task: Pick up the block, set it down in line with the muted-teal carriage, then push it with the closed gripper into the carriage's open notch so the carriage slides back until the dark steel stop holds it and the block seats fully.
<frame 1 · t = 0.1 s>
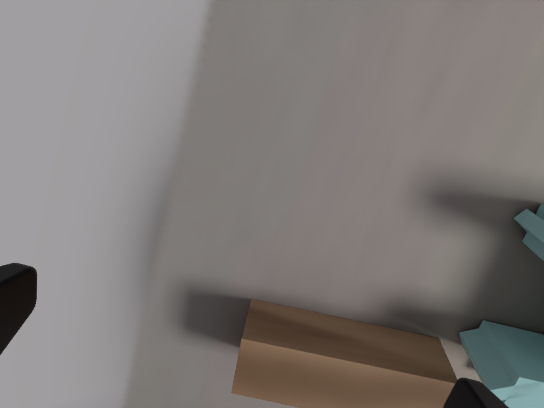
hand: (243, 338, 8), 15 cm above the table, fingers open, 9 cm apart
block: (336, 340, 26), on the table
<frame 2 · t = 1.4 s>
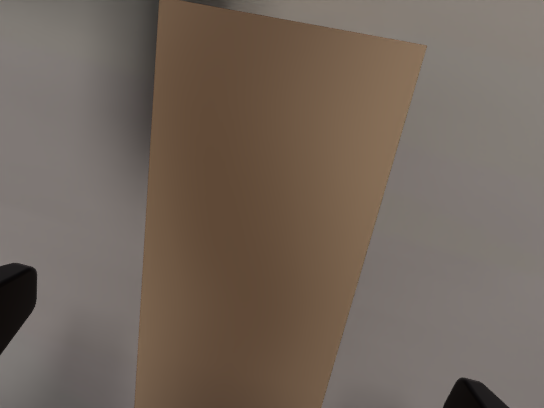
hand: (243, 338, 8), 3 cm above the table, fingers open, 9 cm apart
block: (260, 251, 12), on the table
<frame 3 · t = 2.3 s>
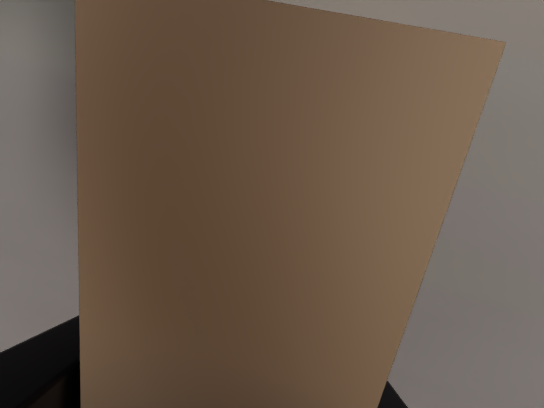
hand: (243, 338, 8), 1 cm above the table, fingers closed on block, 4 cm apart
block: (252, 299, 10), on the table, touching gripper
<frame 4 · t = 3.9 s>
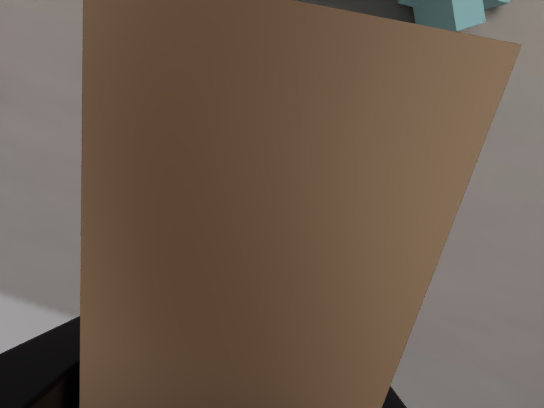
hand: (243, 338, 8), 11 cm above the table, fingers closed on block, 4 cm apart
block: (252, 299, 9), point 10 cm above the table, touching gripper
when the fingers open (2 cm above the table, at t = 5.7 s): block drops 2 cm, on the table.
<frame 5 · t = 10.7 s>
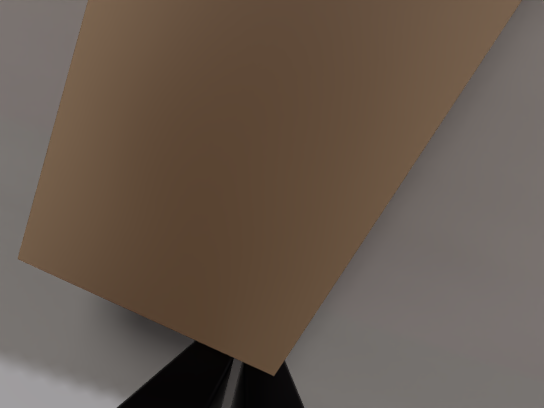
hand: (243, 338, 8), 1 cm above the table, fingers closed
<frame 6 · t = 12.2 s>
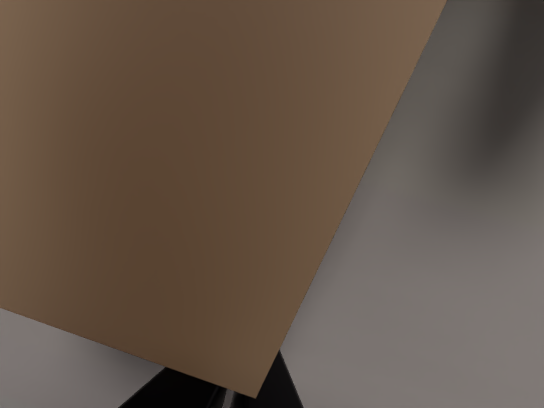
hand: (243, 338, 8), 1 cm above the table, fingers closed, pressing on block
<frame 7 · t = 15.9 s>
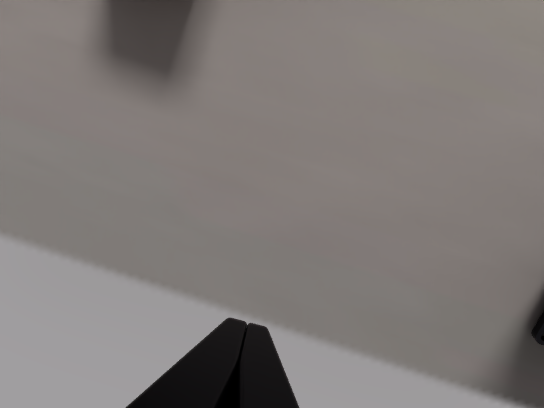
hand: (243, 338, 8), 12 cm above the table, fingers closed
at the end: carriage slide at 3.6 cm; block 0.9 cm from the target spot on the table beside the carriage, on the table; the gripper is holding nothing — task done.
